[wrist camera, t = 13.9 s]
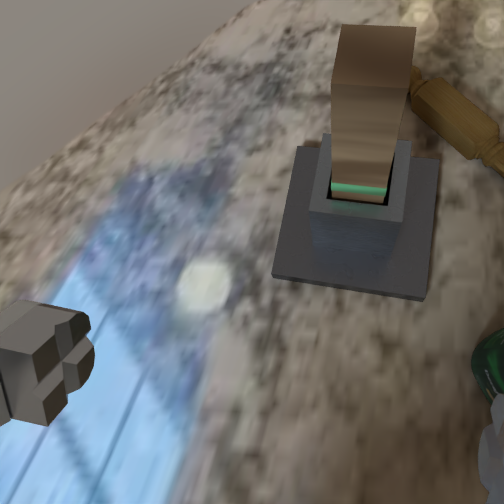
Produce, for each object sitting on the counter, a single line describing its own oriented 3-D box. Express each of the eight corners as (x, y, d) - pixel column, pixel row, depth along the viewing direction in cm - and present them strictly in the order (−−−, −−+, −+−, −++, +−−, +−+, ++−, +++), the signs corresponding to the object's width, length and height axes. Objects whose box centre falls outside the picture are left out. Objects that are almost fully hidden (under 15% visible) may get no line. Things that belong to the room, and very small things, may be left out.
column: (381, 211, 38) (409, 89, 24) (331, 205, 39) (329, 84, 25) (387, 166, 40) (417, 26, 25) (338, 161, 40) (341, 23, 26)
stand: (422, 301, 43) (445, 271, 34) (273, 277, 46) (258, 244, 37) (436, 167, 47) (459, 108, 38) (298, 153, 50) (290, 96, 41)
